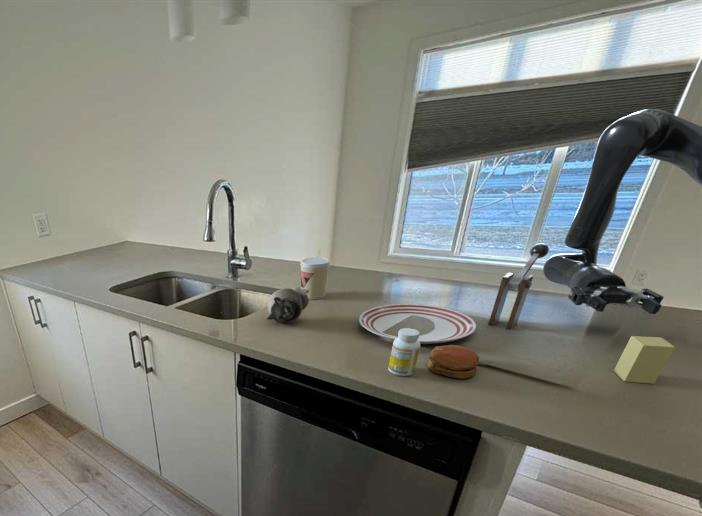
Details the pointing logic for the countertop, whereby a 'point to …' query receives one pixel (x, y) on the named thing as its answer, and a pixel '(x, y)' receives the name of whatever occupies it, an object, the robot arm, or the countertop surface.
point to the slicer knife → (528, 266)
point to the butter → (643, 359)
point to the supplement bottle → (404, 352)
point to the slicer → (517, 305)
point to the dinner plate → (445, 320)
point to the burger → (453, 361)
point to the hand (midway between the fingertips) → (629, 308)
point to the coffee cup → (314, 277)
